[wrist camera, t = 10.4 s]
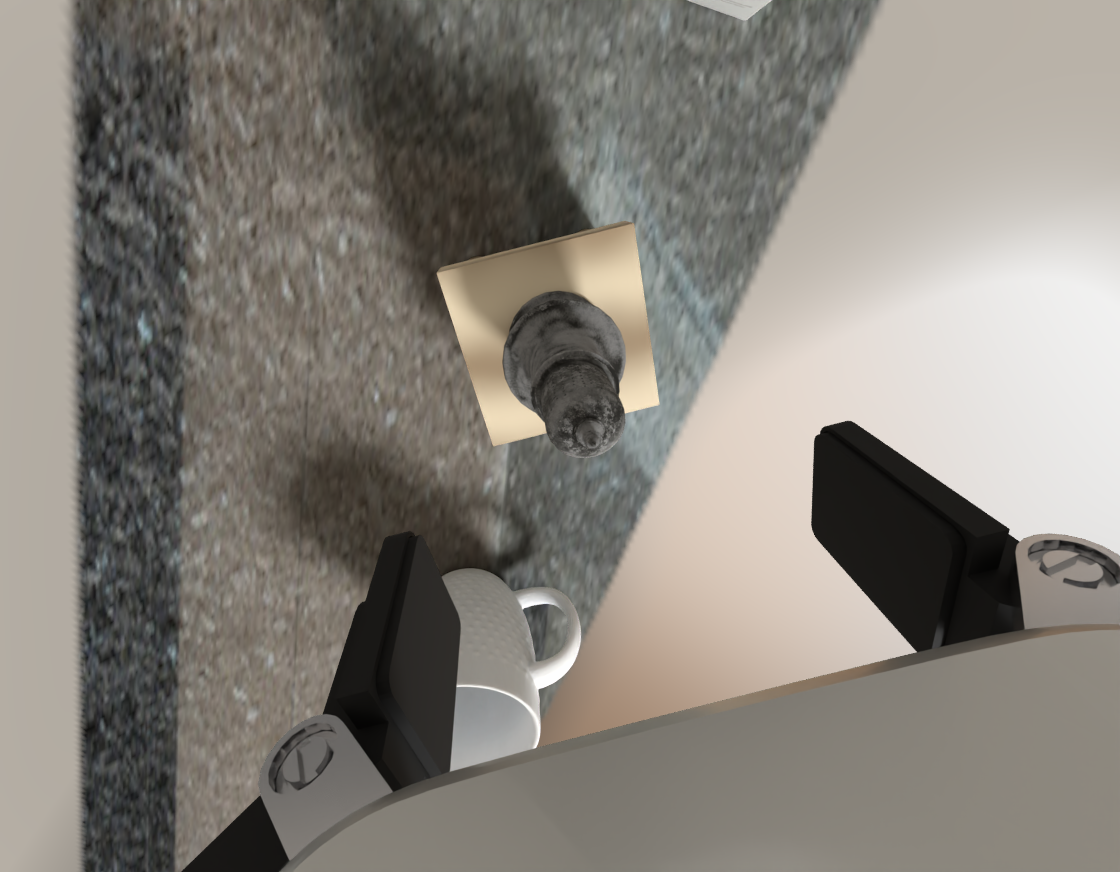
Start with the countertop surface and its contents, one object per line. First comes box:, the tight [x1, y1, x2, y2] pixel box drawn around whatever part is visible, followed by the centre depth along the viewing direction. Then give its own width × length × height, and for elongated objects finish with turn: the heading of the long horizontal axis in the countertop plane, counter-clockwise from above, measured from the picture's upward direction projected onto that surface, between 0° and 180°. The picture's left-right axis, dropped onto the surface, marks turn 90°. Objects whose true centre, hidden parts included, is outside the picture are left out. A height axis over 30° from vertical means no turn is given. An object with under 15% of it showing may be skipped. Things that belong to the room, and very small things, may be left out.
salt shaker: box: [502, 291, 626, 458], centre depth 21 cm, size 6×6×12 cm
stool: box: [437, 221, 659, 446], centre depth 30 cm, size 10×10×8 cm
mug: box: [442, 568, 581, 772], centre depth 38 cm, size 15×11×13 cm
